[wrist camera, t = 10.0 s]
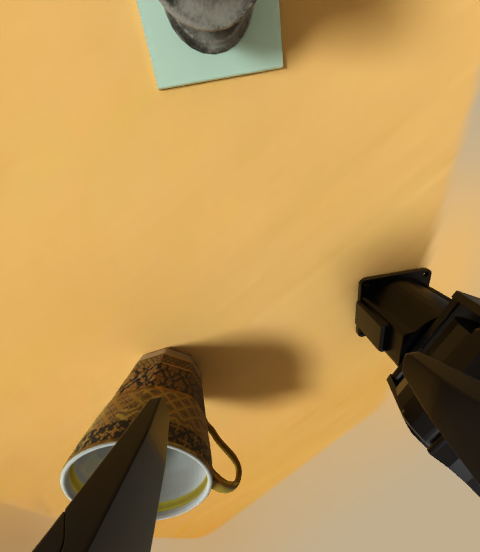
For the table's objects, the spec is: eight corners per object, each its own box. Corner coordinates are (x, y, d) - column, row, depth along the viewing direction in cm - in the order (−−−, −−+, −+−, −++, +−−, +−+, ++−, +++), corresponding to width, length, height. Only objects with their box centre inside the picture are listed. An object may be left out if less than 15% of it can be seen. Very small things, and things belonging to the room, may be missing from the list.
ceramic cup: (108, 390, 26) (46, 511, 17) (136, 320, 22) (77, 424, 13) (217, 419, 29) (215, 534, 20) (256, 361, 26) (276, 469, 16)
